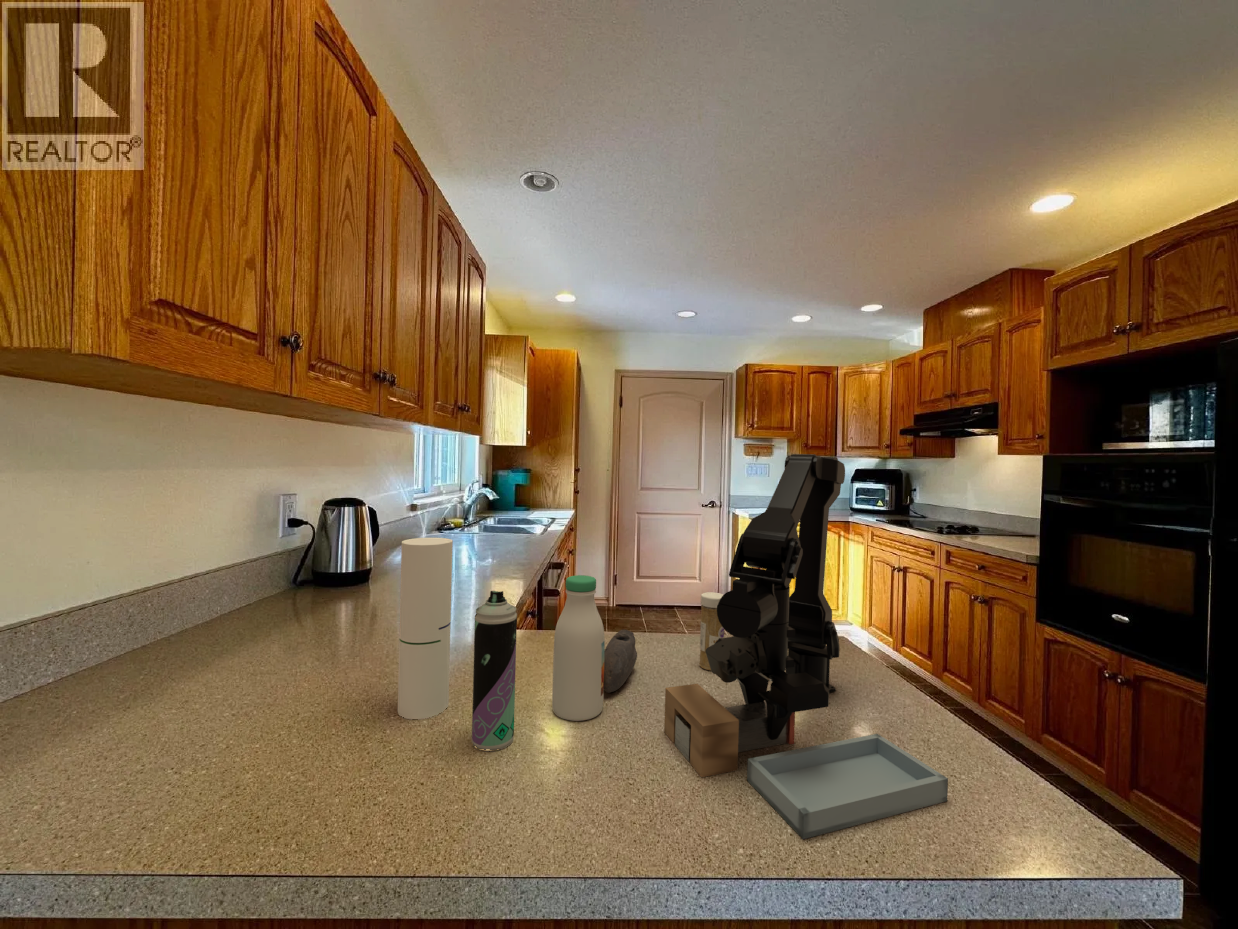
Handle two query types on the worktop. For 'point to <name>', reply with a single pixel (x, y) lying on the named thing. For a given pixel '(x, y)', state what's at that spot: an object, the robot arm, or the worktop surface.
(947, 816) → the worktop surface
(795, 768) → the tray
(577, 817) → the worktop surface
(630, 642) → the perforated stone tool
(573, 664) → the milk bottle
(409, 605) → the cylindrical container
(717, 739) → the block
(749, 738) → the red capped grey bar
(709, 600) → the spice jar
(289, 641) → the worktop surface
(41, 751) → the worktop surface
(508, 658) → the spray can
